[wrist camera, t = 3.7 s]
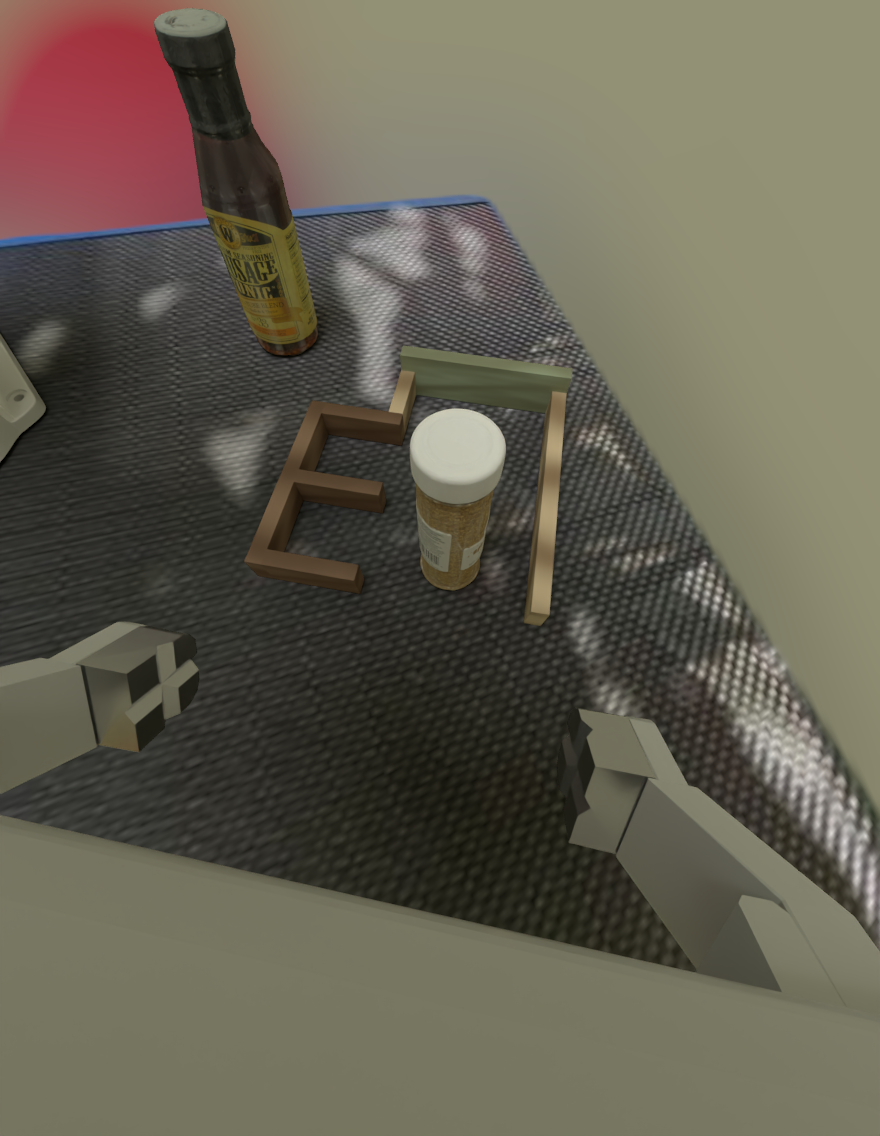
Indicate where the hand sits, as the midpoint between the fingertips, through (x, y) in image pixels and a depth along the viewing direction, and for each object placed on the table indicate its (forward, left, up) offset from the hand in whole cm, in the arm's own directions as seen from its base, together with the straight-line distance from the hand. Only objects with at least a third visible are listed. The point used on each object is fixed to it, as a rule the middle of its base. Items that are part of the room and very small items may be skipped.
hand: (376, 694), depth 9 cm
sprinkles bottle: (-9, +8, -19) cm, 23 cm away
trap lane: (-17, +10, -19) cm, 28 cm away
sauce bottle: (-39, +7, -19) cm, 44 cm away
